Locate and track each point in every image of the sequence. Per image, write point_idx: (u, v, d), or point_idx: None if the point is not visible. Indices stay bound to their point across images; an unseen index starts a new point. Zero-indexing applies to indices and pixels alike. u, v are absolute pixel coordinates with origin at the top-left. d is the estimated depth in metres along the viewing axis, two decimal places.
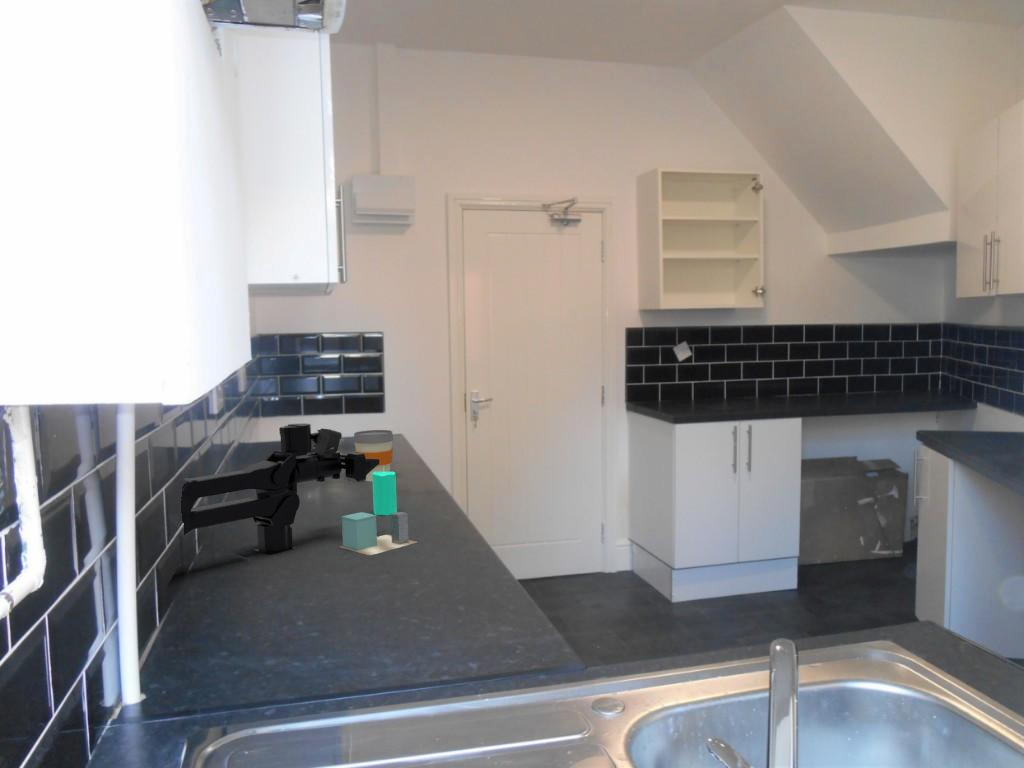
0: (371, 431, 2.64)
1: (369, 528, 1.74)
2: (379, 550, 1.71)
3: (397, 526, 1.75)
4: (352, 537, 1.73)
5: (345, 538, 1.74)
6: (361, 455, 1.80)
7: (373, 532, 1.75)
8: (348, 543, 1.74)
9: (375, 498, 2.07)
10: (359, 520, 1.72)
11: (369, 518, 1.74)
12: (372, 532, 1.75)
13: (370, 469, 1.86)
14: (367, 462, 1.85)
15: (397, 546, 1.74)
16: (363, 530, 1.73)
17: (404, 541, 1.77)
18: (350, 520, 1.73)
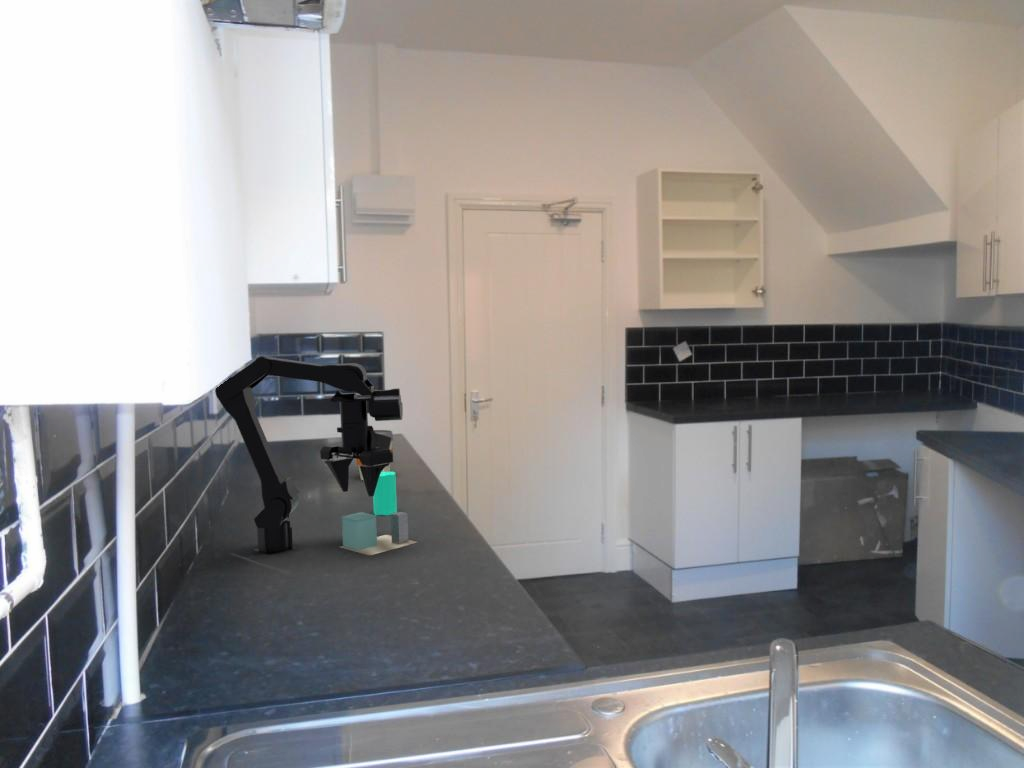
0: None
1: (369, 528, 1.74)
2: (379, 550, 1.71)
3: (397, 526, 1.75)
4: (352, 537, 1.73)
5: (345, 538, 1.74)
6: None
7: (373, 532, 1.75)
8: (348, 543, 1.74)
9: (375, 498, 2.07)
10: (359, 520, 1.72)
11: (369, 518, 1.74)
12: (372, 532, 1.75)
13: (369, 481, 1.70)
14: (375, 476, 1.71)
15: (397, 546, 1.74)
16: (363, 530, 1.73)
17: (404, 541, 1.77)
18: (350, 520, 1.73)
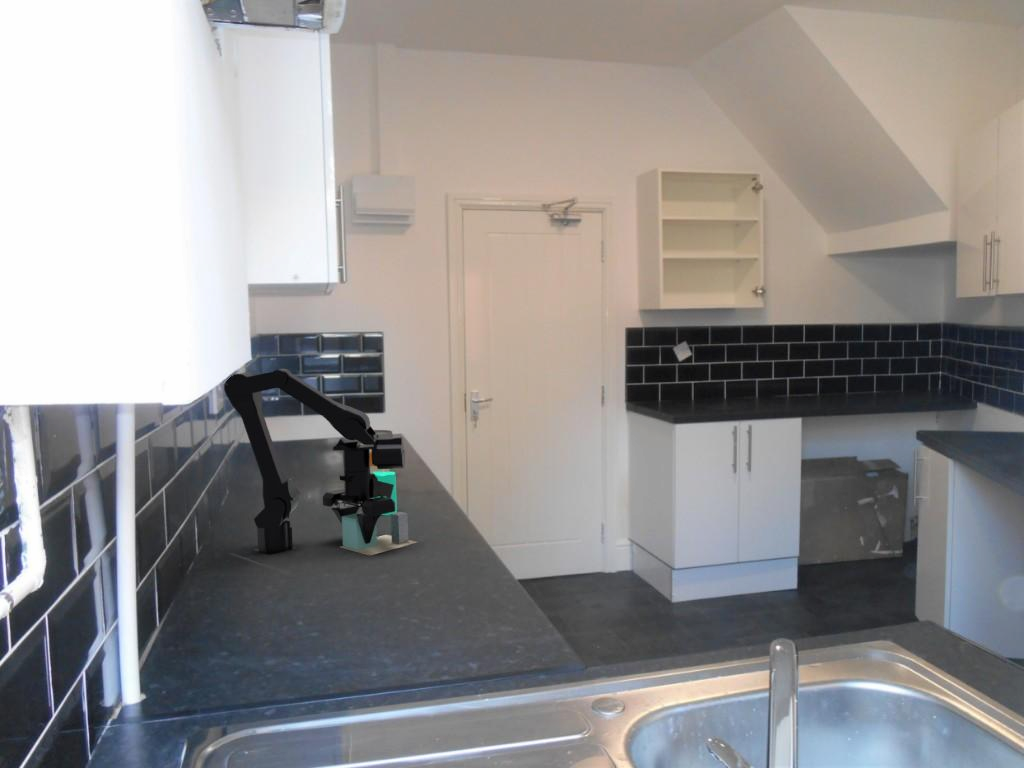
0: None
1: None
2: (379, 550, 1.71)
3: (397, 526, 1.75)
4: (352, 537, 1.73)
5: (345, 538, 1.74)
6: None
7: (373, 532, 1.75)
8: (348, 543, 1.74)
9: None
10: None
11: None
12: None
13: (365, 529, 1.71)
14: (371, 524, 1.73)
15: (397, 546, 1.74)
16: None
17: (404, 541, 1.77)
18: (350, 520, 1.73)
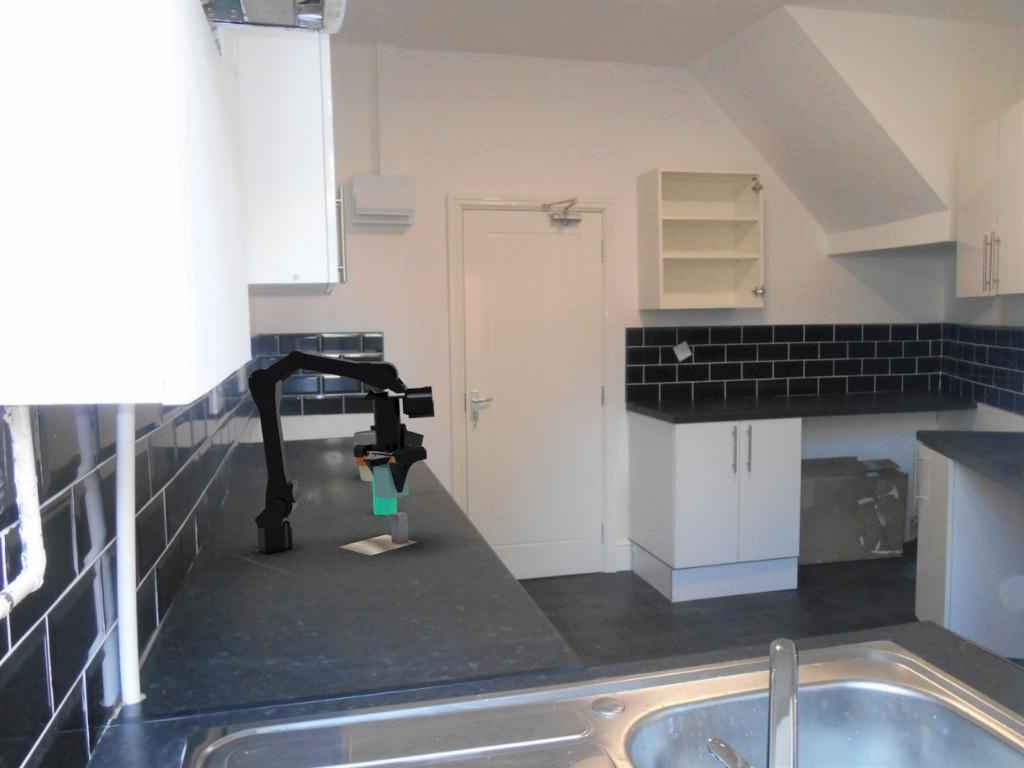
0: (371, 431, 2.64)
1: None
2: (379, 550, 1.71)
3: (397, 526, 1.75)
4: (384, 486, 1.73)
5: (377, 487, 1.75)
6: (426, 454, 1.71)
7: (405, 481, 1.76)
8: (380, 493, 1.75)
9: (375, 498, 2.07)
10: None
11: None
12: None
13: (397, 478, 1.72)
14: (403, 473, 1.73)
15: (397, 546, 1.74)
16: None
17: (404, 541, 1.77)
18: (382, 469, 1.74)
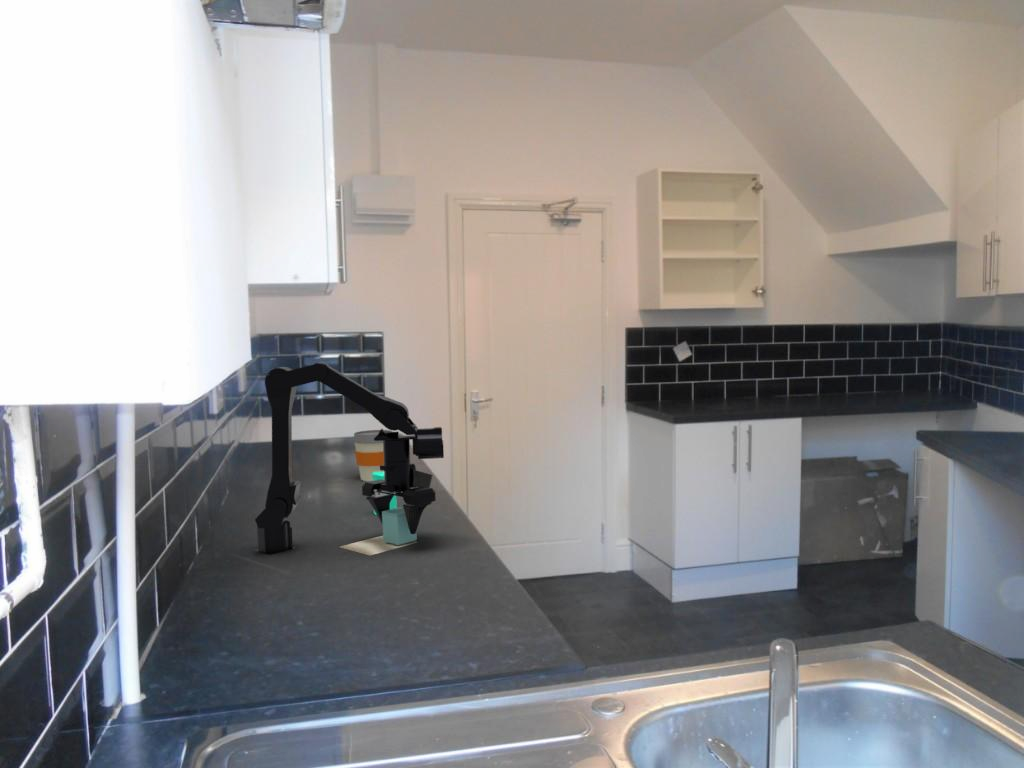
0: (371, 431, 2.64)
1: None
2: (379, 550, 1.71)
3: None
4: (393, 532, 1.75)
5: (385, 532, 1.76)
6: (435, 496, 1.73)
7: None
8: (388, 538, 1.76)
9: None
10: (400, 515, 1.74)
11: None
12: None
13: (411, 519, 1.72)
14: (417, 514, 1.73)
15: (397, 546, 1.74)
16: (403, 525, 1.75)
17: None
18: (391, 515, 1.75)
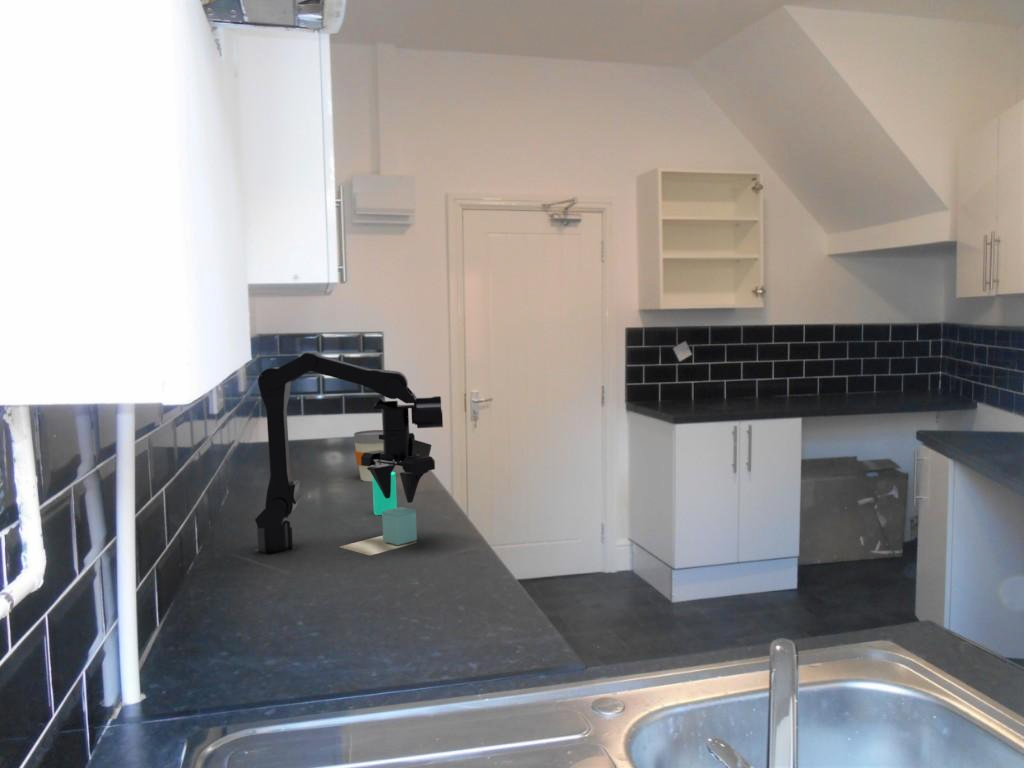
0: (371, 431, 2.64)
1: (409, 523, 1.76)
2: (379, 550, 1.71)
3: None
4: (393, 532, 1.75)
5: (385, 532, 1.76)
6: (434, 465, 1.72)
7: (413, 527, 1.77)
8: (388, 538, 1.76)
9: (375, 498, 2.07)
10: (400, 515, 1.74)
11: (409, 513, 1.76)
12: (412, 527, 1.76)
13: (408, 488, 1.72)
14: (414, 483, 1.73)
15: (397, 546, 1.74)
16: (403, 525, 1.75)
17: None
18: (391, 515, 1.75)
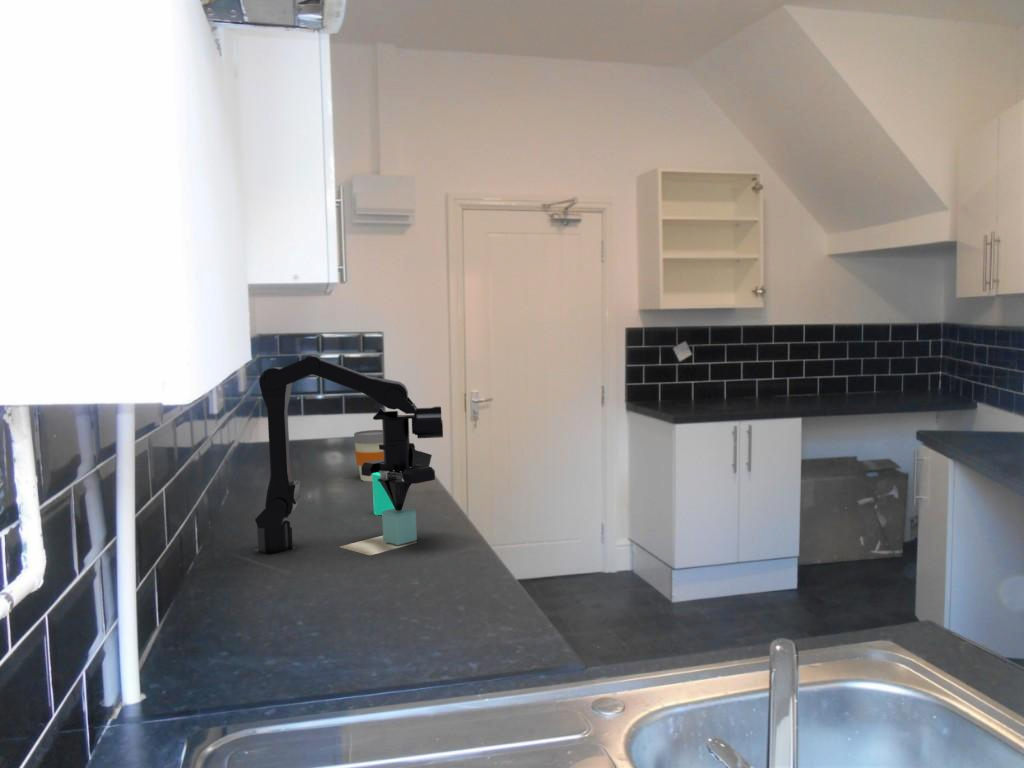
0: (371, 431, 2.64)
1: (409, 523, 1.76)
2: (379, 550, 1.71)
3: None
4: (393, 532, 1.75)
5: (385, 532, 1.76)
6: (434, 475, 1.72)
7: (413, 527, 1.77)
8: (388, 538, 1.76)
9: (375, 498, 2.07)
10: (400, 515, 1.74)
11: (409, 513, 1.76)
12: (412, 527, 1.76)
13: (397, 496, 1.75)
14: (403, 491, 1.76)
15: (397, 546, 1.74)
16: (403, 525, 1.75)
17: None
18: (391, 515, 1.75)
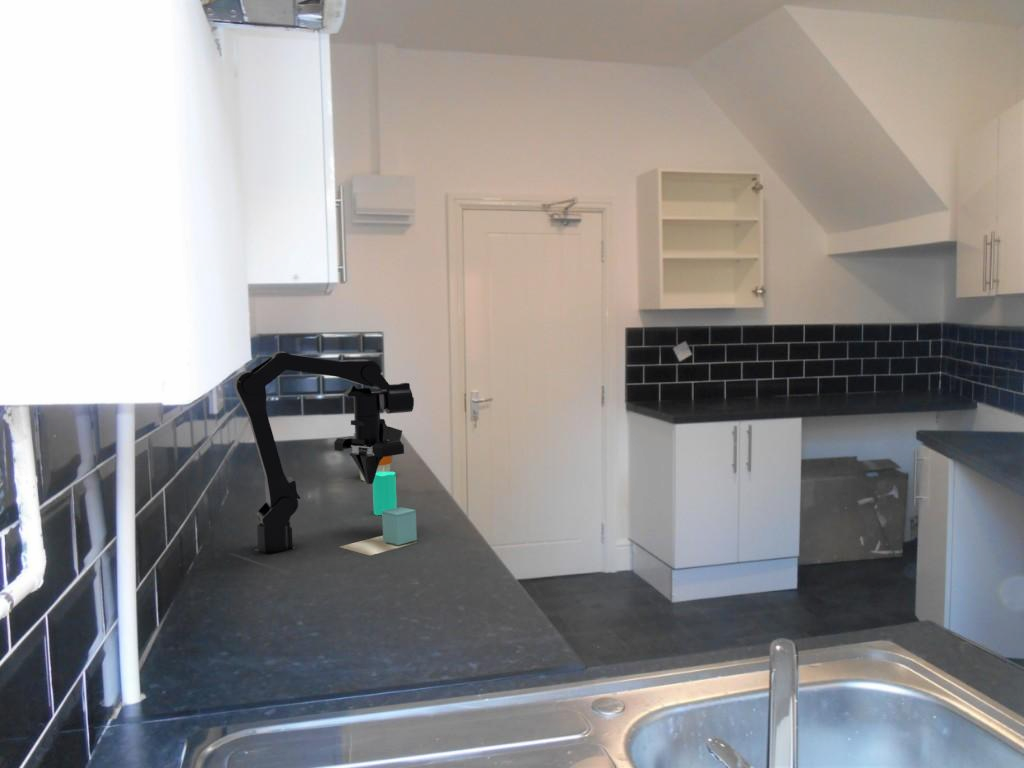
0: None
1: (409, 523, 1.76)
2: (379, 550, 1.71)
3: None
4: (393, 532, 1.75)
5: (385, 532, 1.76)
6: None
7: (413, 527, 1.77)
8: (388, 538, 1.76)
9: (375, 498, 2.07)
10: (400, 515, 1.74)
11: (409, 513, 1.76)
12: (412, 527, 1.76)
13: (368, 470, 1.81)
14: (374, 465, 1.82)
15: (397, 546, 1.74)
16: (403, 525, 1.75)
17: None
18: (391, 515, 1.75)
